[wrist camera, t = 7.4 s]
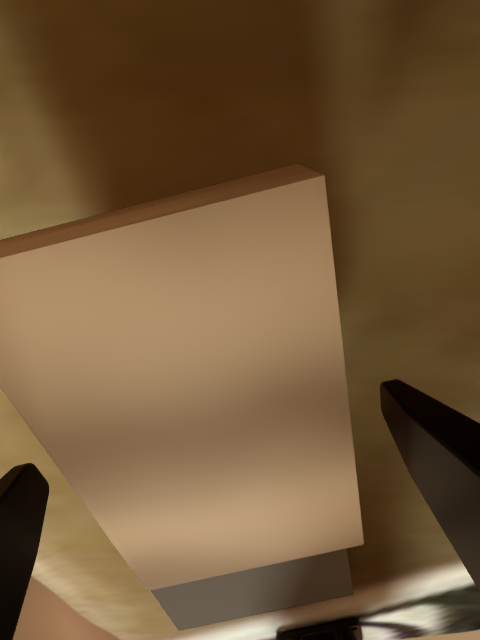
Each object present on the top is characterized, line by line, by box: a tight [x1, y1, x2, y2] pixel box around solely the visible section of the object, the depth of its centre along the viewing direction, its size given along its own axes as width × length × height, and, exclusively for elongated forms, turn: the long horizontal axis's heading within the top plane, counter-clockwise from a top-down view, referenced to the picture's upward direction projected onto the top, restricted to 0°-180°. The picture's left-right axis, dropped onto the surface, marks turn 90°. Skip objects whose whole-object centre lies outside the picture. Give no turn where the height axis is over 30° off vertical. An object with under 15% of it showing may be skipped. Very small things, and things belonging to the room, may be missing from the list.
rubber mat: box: [151, 548, 353, 631], centre depth 21 cm, size 14×12×1 cm
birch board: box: [0, 163, 364, 591], centre depth 10 cm, size 11×7×2 cm, turn 13°
